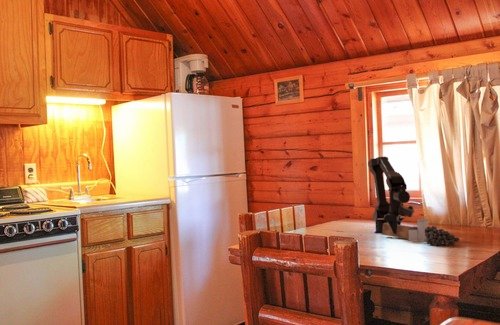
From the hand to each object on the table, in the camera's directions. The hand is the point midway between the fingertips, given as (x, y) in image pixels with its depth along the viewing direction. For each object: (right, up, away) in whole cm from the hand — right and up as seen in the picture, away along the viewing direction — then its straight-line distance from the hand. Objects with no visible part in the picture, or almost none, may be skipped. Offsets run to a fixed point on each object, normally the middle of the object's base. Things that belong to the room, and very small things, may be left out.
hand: (396, 233), depth 242 cm
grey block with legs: (+9, -2, -6) cm, 11 cm away
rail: (+1, -2, -1) cm, 2 cm away
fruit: (+14, -3, -21) cm, 25 cm away
